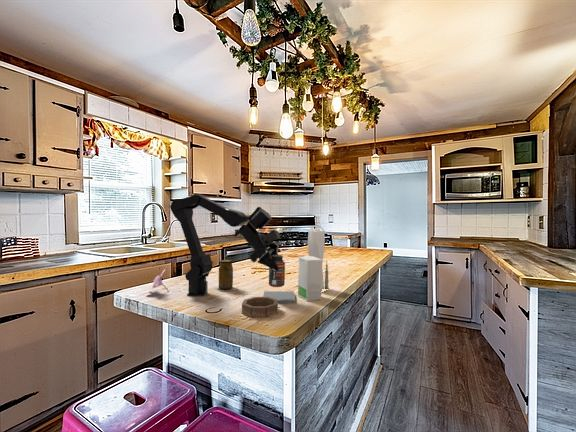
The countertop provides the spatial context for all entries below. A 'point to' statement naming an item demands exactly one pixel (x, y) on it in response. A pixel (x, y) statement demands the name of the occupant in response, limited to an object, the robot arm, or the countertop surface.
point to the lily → (158, 282)
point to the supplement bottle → (277, 272)
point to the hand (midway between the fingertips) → (280, 268)
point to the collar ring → (260, 307)
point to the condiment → (226, 276)
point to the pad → (281, 296)
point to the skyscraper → (318, 249)
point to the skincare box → (310, 278)
